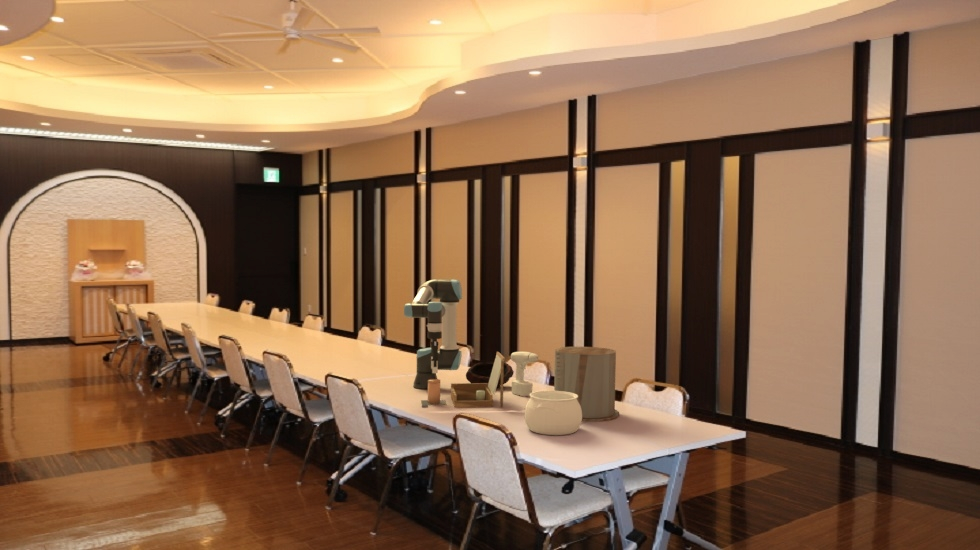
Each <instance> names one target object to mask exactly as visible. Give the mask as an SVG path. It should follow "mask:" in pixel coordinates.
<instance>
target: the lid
mask: <svg viewBox="0 0 980 550" xmlns="http://www.w3.org/2000/svg"><path fill="white" fill-rule="evenodd" d="M495 354H496V355H495V358H494V361H493V362H494V365H493V369H492V372H491V376H490V380H489V383H488V389H489V390H490V392H491V393H492V395H495V394H496V390H497V388H498V387H497V384H498V380H499V377H500V373H501V359H504V361H505V360H506V358H505V356H504V355H502V353H500V352H499V351H496V353H495Z"/></svg>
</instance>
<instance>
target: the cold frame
mask: <svg viewBox="0 0 980 550" xmlns="http://www.w3.org/2000/svg"><path fill="white" fill-rule="evenodd" d="M504 361H505V360H504V359H501V386H500V389H499V390H500V394H499V395H500V399H499V400H500V402H499V404H500V405H499V407H500V408H501V409H502V408H504V384H503V368H504V363H505V362H504ZM487 386H488V384H487V383H470V382H469V383H466V382H465V383H464V382H463V383H462V382H461V383H458V382H457V383H456V382H455V383H450V398H451V399H450V400H451V402H452V404H453V407H454V408H493V406H494V405H493V404H494V403H493V402H494V400H493V399H494V397H493V394H492V392H491V391H490V389H489V388H488V387H487ZM477 390H484V391H485V401H476V391H477Z"/></svg>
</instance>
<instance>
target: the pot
mask: <svg viewBox="0 0 980 550" xmlns="http://www.w3.org/2000/svg"><path fill="white" fill-rule="evenodd" d="M528 397H529V399H528V401H527V402H526V405H525V408H524V421H525V424H526V426H527V428H528V429H529V431H531V432H534V433H536V434H540V435H545V436H547V435H549V436H566V435H571V434H574V433H576V432H577V431H578V430H579V429H580V426H581V425H582V422H581V421H582V410H581V406H580V404H579V402H578V401H577V399H576V398H578V395H577V394H574V393H570V392H565V391H554V390H537V391H532V393H530V395H529V396H528Z"/></svg>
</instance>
